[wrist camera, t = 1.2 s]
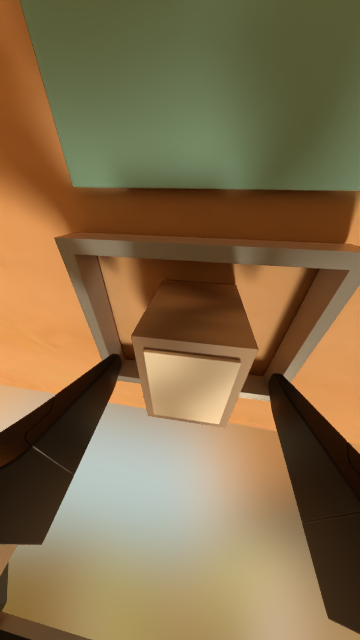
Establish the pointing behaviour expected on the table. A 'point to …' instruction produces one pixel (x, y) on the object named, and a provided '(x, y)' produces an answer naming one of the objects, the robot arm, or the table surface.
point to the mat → (203, 91)
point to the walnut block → (194, 351)
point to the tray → (315, 311)
